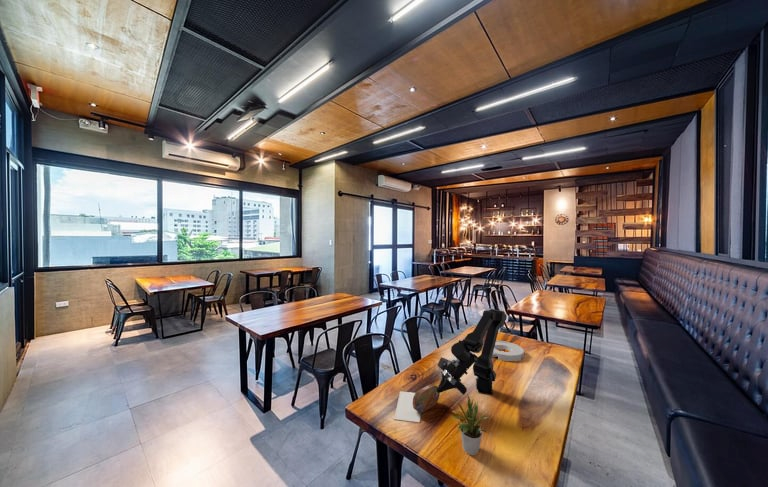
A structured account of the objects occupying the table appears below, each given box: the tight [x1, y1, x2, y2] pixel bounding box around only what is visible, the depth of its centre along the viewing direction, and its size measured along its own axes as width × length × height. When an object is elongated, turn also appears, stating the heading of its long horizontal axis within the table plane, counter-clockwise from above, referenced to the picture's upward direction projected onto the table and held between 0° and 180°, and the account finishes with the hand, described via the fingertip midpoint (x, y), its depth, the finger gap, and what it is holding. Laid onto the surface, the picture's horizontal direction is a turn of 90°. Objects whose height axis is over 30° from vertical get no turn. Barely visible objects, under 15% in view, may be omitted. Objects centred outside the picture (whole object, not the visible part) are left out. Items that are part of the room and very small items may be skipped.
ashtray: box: [492, 340, 525, 362], centre depth 174 cm, size 23×23×4 cm
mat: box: [393, 390, 421, 424], centre depth 119 cm, size 10×20×1 cm, turn 170°
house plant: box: [451, 393, 490, 456], centre depth 96 cm, size 14×14×16 cm
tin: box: [413, 383, 441, 414], centre depth 118 cm, size 15×3×8 cm, turn 131°
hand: (437, 392), depth 118 cm, fingers closed
